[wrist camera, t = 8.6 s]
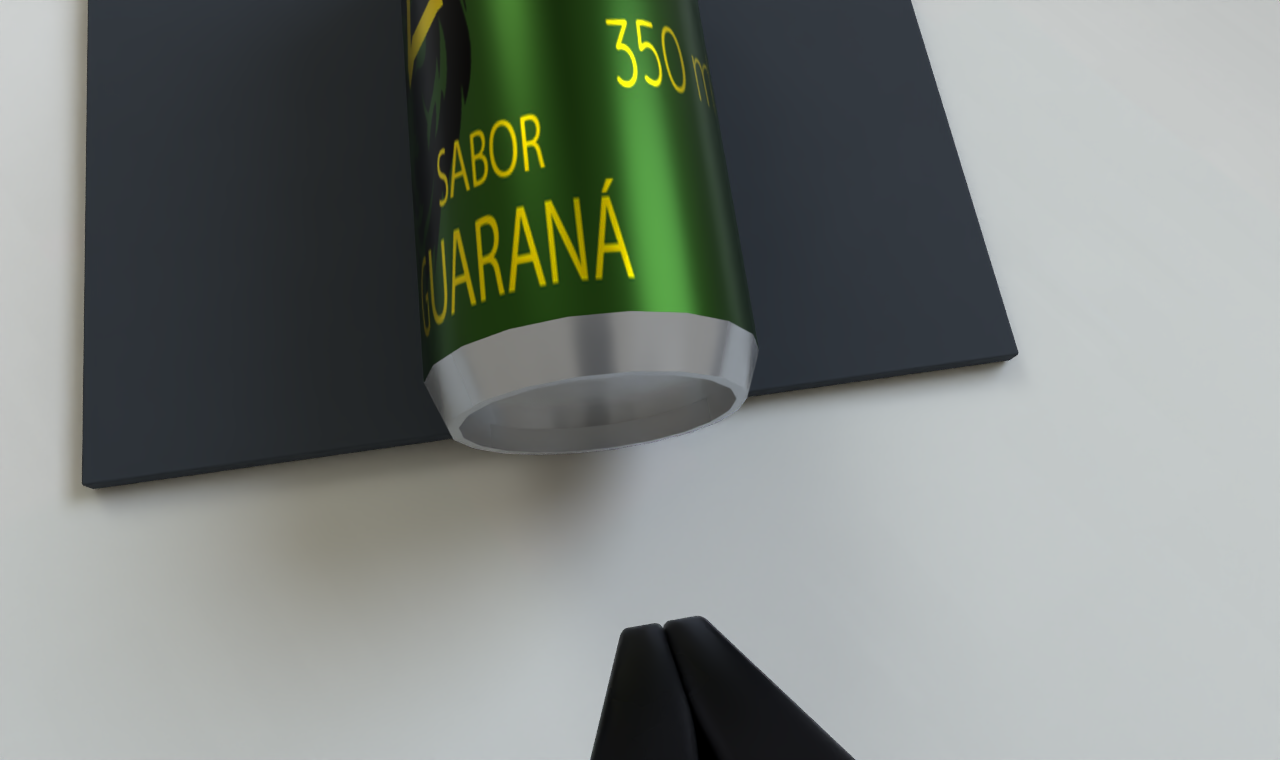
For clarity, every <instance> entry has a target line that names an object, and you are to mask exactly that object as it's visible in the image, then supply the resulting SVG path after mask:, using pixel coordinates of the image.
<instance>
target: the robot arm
mask: <svg viewBox="0 0 1280 760" xmlns="http://www.w3.org/2000/svg"><path fill="white" fill-rule="evenodd" d="M590 760H855V759H854V758H853V757H852V756H851V755H850V754H849V753H848V752H847V751H845V750H844V749H843V748H842V747H841V746H840V745H839V744H838V743H837V742H836V741H835V740H834V739H833V738H832V737H831V736H830V735H829V734H827V733H826V732H825V731H824V730H823V729H822V728H821V727H820V726H819V725H818V724H817V723H816V722H815V721H814V720H813V719H812V718H810V717H809V716H808V715H807V714H806V713H805V712H804V711H803V710H802V709H801V708H800V707H799V706H798V705H797V704H796V703H795V702H794V701H792V700H791V699H790V698H789V697H788V696H787V695H786V694H785V693H784V692H783V691H782V690H781V689H780V688H779V687H778V686H777V685H775V684H774V683H773V682H772V681H771V680H770V679H769V678H768V677H767V676H766V675H765V674H764V673H763V672H762V671H761V670H760V669H759V668H757V667H756V666H755V665H754V664H753V663H752V662H751V661H750V660H749V659H748V658H747V657H746V656H745V655H744V654H743V653H742V652H741V651H739V650H738V649H737V648H736V647H735V646H734V645H733V644H732V643H731V642H730V641H729V640H728V639H727V638H726V637H725V636H724V635H722V634H721V633H720V632H719V631H718V630H717V629H716V628H715V627H714V626H713V625H712V624H711V623H710V622H709V621H708V620H706V619H705V618H703V617H701V616H694V617H688V618H682V619H676V620H670V621H667V622H666V623H665V624H664V626H663V628H662V626H661V625H660V624H657V623H653V624H647V625H641V626H636V627H630V628H626V629H624V630H623V631H622V633H621V635H620V638H619V642H618V646H617V651H616V655H615V659H614V663H613V667H612V671H611V676H610V680H609V684H608V688H607V692H606V696H605V701H604V705H603V709H602V713H601V717H600V721H599V726H598V730H597V734H596V738H595V742H594V746H593V751H592V755H591V759H590Z"/></svg>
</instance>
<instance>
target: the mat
mask: <svg viewBox="0 0 1280 760" xmlns="http://www.w3.org/2000/svg"><path fill="white" fill-rule="evenodd" d="M697 1H698V6H699V12H700V18H701V23H702V29H703V35H704V40H705V46H706V52H707V57H708V63H709V69H710V74H711V80H712V86H713V91H714V97H715V103H716V108H717V114H718V120H719V125H720V131H721V137H722V142H723V148H724V154H725V159H726V165H727V171H728V176H729V182H730V188H731V193H732V199H733V205H734V210H735V216H736V222H737V227H738V233H739V239H740V244H741V250H742V256H743V261H744V267H745V273H746V278H747V284H748V290H749V296H750V301H751V307H752V313H753V318H754V324H755V330H756V335H757V341H758V347H759V353H758V357H757V361H756V365H755V369H754V373H753V376H752V380H751V384H750V388H749V392H748V396H747V397H751V396H758V395H765V394H772V393H779V392H786V391H793V390H800V389H807V388H815V387H822V386H829V385H836V384H843V383H850V382H857V381H864V380H871V379H879V378H886V377H893V376H900V375H907V374H914V373H921V372H928V371H935V370H943V369H950V368H957V367H964V366H971V365H978V364H985V363H992V362H999V361H1007V360H1010V359H1012V358H1013V357H1015V356H1016V355H1018V350H1017V346H1016V343H1015V340H1014V337H1013V333H1012V330H1011V327H1010V324H1009V320H1008V317H1007V314H1006V310H1005V307H1004V304H1003V301H1002V297H1001V294H1000V291H999V288H998V284H997V281H996V278H995V274H994V271H993V268H992V265H991V261H990V258H989V255H988V252H987V248H986V245H985V242H984V238H983V235H982V232H981V229H980V225H979V222H978V219H977V216H976V212H975V209H974V206H973V202H972V199H971V196H970V193H969V189H968V186H967V183H966V180H965V176H964V173H963V170H962V166H961V163H960V160H959V157H958V153H957V150H956V147H955V144H954V140H953V137H952V134H951V130H950V127H949V124H948V121H947V117H946V114H945V111H944V108H943V104H942V101H941V98H940V94H939V91H938V88H937V85H936V81H935V78H934V75H933V72H932V68H931V65H930V62H929V58H928V55H927V52H926V49H925V45H924V42H923V39H922V36H921V32H920V29H919V26H918V22H917V19H916V16H915V13H914V9H913V6H912V3H911V0H697ZM452 438H453V437H452V436H451V434H450V432H449V430H448V428H447V426H446V424H445V422H444V420H443V419H442V417H441V415H440V413H439V411H438V409H437V407H436V405H435V403H434V401H433V400H432V398H431V396H430V394H429V392H428V390H427V388H426V386H425V384H424V378H423V362H422V345H421V328H420V312H419V295H418V278H417V262H416V245H415V228H414V212H413V195H412V178H411V161H410V145H409V128H408V111H407V95H406V78H405V61H404V45H403V28H402V11H401V0H88V48H87V127H86V207H85V286H84V366H83V445H82V484H83V485H84V486H86V487H89V488H92V489H96V488H103V487H111V486H118V485H125V484H132V483H139V482H146V481H153V480H160V479H167V478H175V477H182V476H189V475H196V474H203V473H210V472H217V471H224V470H231V469H239V468H246V467H253V466H260V465H267V464H274V463H281V462H288V461H295V460H303V459H310V458H317V457H324V456H331V455H338V454H345V453H352V452H359V451H367V450H374V449H381V448H388V447H395V446H402V445H409V444H416V443H423V442H431V441H438V440H445V439H452Z"/></svg>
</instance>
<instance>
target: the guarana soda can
mask: <svg viewBox="0 0 1280 760" xmlns="http://www.w3.org/2000/svg"><path fill="white" fill-rule="evenodd" d="M401 11H402V28H403V45H404V61H405V78H406V95H407V111H408V128H409V145H410V161H411V178H412V195H413V212H414V228H415V245H416V262H417V278H418V295H419V312H420V328H421V345H422V362H423V378H424V384H425V386H426V388H427V390H428V392H429V394H430V396H431V398H432V400H433V401H434V403H435V405H436V407H437V409H438V411H439V413H440V415H441V417H442V419H443V420H444V422H445V424H446V426H447V428H448V430H449V432H450V434H451V436H452V437H453V439H454V440H455V441H458V442H460V443H462V444H464V445H467V446H469V447H471V448H475V449H480V450H486V451H492V452H497V453H508V454H528V455H547V454H574V453H584V452H593V451H602V450H612V449H619V448H624V447H630V446H635V445H641V444H647V443H652V442H657V441H660V440H664V439H668V438H672V437H676V436H680V435H683V434H687V433H691V432H693V431H696V430H699V429H701V428H704V427H706V426H709V425H712V424H714V423H717V422H719V421H721V420H723V419H724V418H726V417H728V416H729V415H731V414H733V413H734V412H736V411H738V410H739V409H740V407H741V406H742V404H743V403H744V401H745V400H746V398H747V396H748V392H749V388H750V384H751V380H752V376H753V373H754V369H755V365H756V361H757V357H758V353H759V347H758V341H757V335H756V330H755V324H754V318H753V313H752V307H751V301H750V296H749V290H748V284H747V278H746V273H745V267H744V261H743V256H742V250H741V244H740V239H739V233H738V227H737V222H736V216H735V210H734V205H733V199H732V193H731V188H730V182H729V176H728V171H727V165H726V159H725V154H724V148H723V142H722V137H721V131H720V125H719V120H718V114H717V108H716V103H715V97H714V91H713V86H712V80H711V74H710V69H709V63H708V57H707V52H706V46H705V40H704V35H703V29H702V23H701V18H700V12H699V6H698V1H697V0H401Z"/></svg>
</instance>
